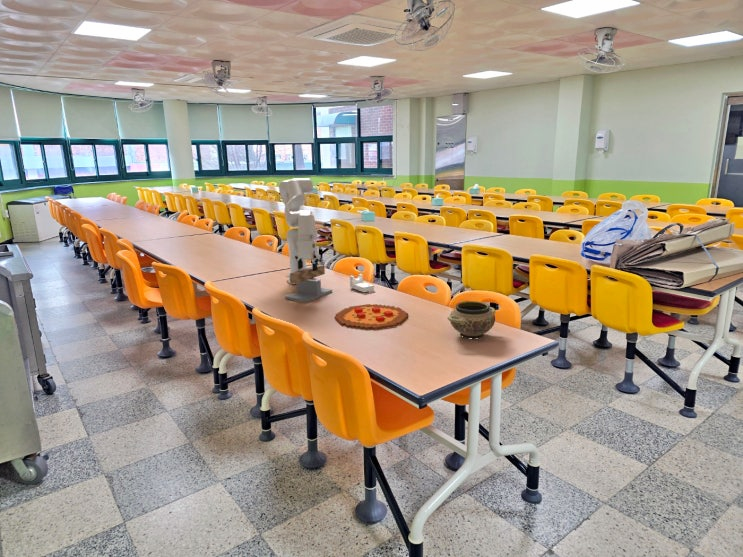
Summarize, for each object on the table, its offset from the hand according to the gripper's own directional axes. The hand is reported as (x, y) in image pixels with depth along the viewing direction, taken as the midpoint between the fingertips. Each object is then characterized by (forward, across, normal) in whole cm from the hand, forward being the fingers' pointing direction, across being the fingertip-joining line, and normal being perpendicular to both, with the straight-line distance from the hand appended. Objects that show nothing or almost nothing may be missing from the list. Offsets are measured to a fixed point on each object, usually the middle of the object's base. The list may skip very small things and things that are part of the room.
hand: (307, 269), depth 255 cm
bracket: (+15, -19, -23) cm, 33 cm away
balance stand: (+14, 0, 0) cm, 14 cm away
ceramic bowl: (+13, -96, +14) cm, 98 cm away
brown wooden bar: (+5, 0, 0) cm, 5 cm away
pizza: (+14, -48, +14) cm, 52 cm away
